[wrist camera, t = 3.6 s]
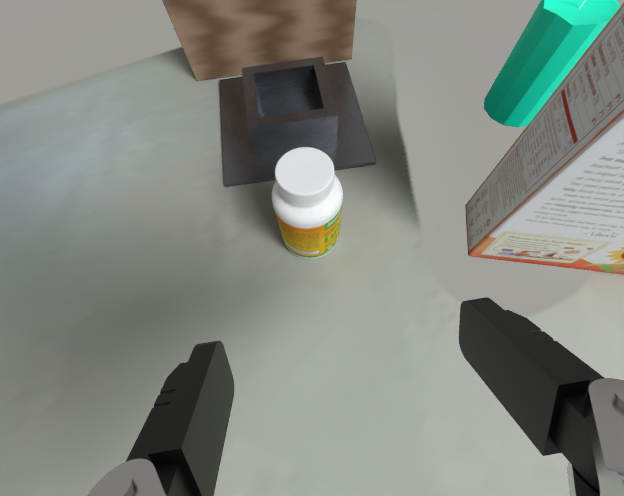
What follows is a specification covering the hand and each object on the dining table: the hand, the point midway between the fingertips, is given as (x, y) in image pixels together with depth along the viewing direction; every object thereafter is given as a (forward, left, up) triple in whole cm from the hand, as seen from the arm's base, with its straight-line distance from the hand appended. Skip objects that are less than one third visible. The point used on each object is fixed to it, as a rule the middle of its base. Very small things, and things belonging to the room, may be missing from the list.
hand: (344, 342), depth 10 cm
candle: (+25, +24, -15) cm, 38 cm away
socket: (0, +27, -15) cm, 31 cm away
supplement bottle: (0, +12, -15) cm, 19 cm away
